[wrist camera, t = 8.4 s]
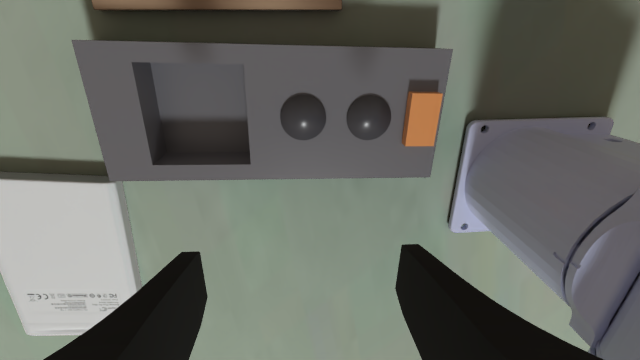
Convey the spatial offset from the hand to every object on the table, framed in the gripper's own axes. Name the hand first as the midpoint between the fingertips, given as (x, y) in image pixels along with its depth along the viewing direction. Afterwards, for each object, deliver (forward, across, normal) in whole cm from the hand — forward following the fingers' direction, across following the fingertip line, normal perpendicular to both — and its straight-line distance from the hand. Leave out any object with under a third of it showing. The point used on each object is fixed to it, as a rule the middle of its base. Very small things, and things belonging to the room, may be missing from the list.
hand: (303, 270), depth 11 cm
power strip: (+10, +1, -4) cm, 11 cm away
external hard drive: (+10, +15, +6) cm, 19 cm away
